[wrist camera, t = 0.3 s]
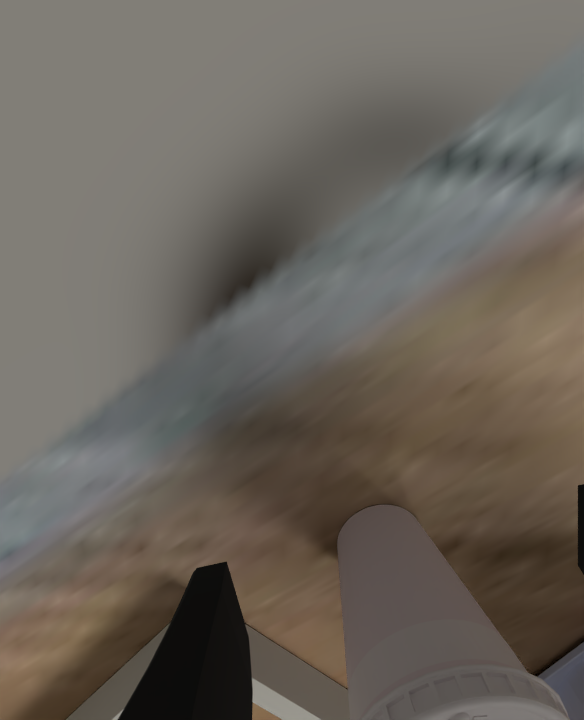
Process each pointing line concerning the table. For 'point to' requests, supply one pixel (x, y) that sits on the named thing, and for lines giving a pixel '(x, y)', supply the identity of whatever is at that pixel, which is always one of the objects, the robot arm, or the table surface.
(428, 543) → the smoothie
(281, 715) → the white shallow square frame
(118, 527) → the table surface
